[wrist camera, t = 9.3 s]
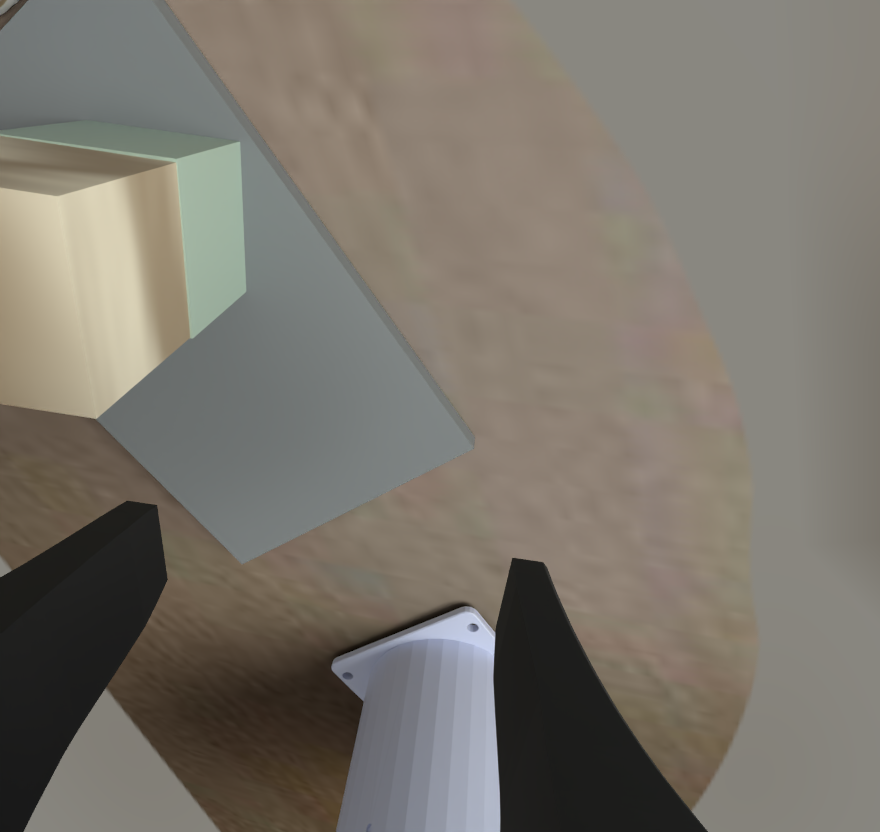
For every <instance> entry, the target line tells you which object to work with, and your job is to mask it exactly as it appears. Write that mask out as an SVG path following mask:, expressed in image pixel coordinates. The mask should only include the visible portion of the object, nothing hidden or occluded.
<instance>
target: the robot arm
mask: <svg viewBox="0 0 880 832" xmlns="http://www.w3.org/2000/svg"><path fill="white" fill-rule="evenodd" d="M167 580H168V579H167V572H166V565H165V558H164V551H163V544H162V537H161V530H160V523H159V516H158V509H157V505H152V504H145V503H139V502H132V501H126V502H124V503H123V504H121V505H119V506H117V507H116V508H114V509H112V510H111V511H109V512H108V513H106V514H104V515H103V516H101V517H99V518H98V519H96V520H95V521H93V522H91V523H90V524H88V525H87V526H85V527H83V528H82V529H80V530H79V531H77V532H76V533H74V534H72V535H71V536H69V537H68V538H66V539H64V540H63V541H61V542H59V543H58V544H56V545H54V546H53V547H51V548H50V549H48V550H46V551H45V552H43V553H41V554H40V555H38V556H36V557H35V558H33V559H32V560H30V561H28V562H27V563H25V564H23V565H22V566H20V567H18V568H16V569H14V570H13V571H11V572H9V573H7V574H6V575H4V576H2V577H0V832H23V831H24V829H25V827H26V825H27V823H28V821H29V819H30V817H31V815H32V813H33V811H34V809H35V807H36V805H37V804H38V801H39V800H40V798H41V796H42V794H43V792H44V790H45V788H46V787H47V785H48V783H49V781H50V779H51V777H52V775H53V773H54V771H55V769H56V767H57V766H58V764H59V762H60V759H61V758H62V756H63V754H64V753H65V751H66V749H67V747H68V746H69V744H70V742H71V741H72V739H73V738H74V736H75V734H76V733H77V731H78V729H79V728H80V726H81V725H82V723H83V721H84V720H85V718H86V717H87V715H88V714H89V712H90V711H91V709H92V708H93V706H94V705H95V703H96V702H97V700H98V698H99V697H100V696H101V694H102V692H103V691H104V689H105V688H106V686H107V685H108V683H109V682H110V680H111V679H112V677H113V676H114V674H115V673H116V671H117V669H118V668H119V666H120V665H121V663H122V662H123V660H124V659H125V657H126V656H127V654H128V652H129V651H130V649H131V648H132V646H133V645H134V643H135V642H136V640H137V638H138V637H139V635H140V634H141V632H142V630H143V629H144V627H145V626H146V624H147V622H148V620H149V618H150V616H151V614H152V612H153V610H154V608H155V606H156V604H157V601H158V599H159V597H160V595H161V593H162V591H163V588H164V586H165V584H166V582H167ZM472 623H473V624H476V625H471V624H472ZM331 668H332V671H333V672H334V673H335V674H336V675H337V676H338V677H339V678H340V679H341V680H342V681H343V682H344V683H345V684H346V685H347V686H348V687H349V688H350V689H351V690H352V691H353V692H354V693H355V694H356V695H357V696H358V697H360V698H361V699H362V700H363V701H364V703H363V708H362V712H361V717H360V722H359V727H358V731H357V736H356V741H355V745H354V750H353V755H352V759H351V764H350V769H349V773H348V778H347V783H346V787H345V792H344V797H343V802H342V806H341V811H340V816H339V820H338V825H337V830H336V832H708V831H707V830H706V829H705V828H704V827H703V825H702V824H701V823H700V821H699V820H698V819H697V818H696V816H695V815H694V814H693V813H692V812H691V810H690V809H689V808H688V807H687V805H686V804H685V803H684V802H683V800H682V799H681V798H680V797H679V795H678V794H677V793H676V792H675V790H674V789H673V788H672V787H671V785H670V784H669V783H668V782H667V780H666V779H665V778H664V776H663V775H662V774H661V772H660V771H659V769H658V768H657V767H656V765H655V764H654V763H653V761H652V760H651V758H650V757H649V756H648V754H647V753H646V752H645V750H644V749H643V747H642V746H641V744H640V743H639V741H638V740H637V738H636V737H635V735H634V734H633V733H632V731H631V730H630V728H629V727H628V725H627V724H626V722H625V720H624V719H623V717H622V716H621V714H620V713H619V711H618V709H617V708H616V706H615V705H614V703H613V701H612V700H611V698H610V696H609V695H608V693H607V691H606V689H605V688H604V686H603V684H602V683H601V681H600V679H599V677H598V676H597V674H596V672H595V670H594V668H593V667H592V665H591V663H590V661H589V659H588V657H587V655H586V653H585V651H584V649H583V648H582V646H581V644H580V642H579V640H578V638H577V636H576V634H575V632H574V630H573V628H572V626H571V624H570V621H569V619H568V617H567V615H566V613H565V610H564V608H563V606H562V604H561V602H560V599H559V597H558V595H557V592H556V590H555V587H554V585H553V582H552V580H551V577H550V574H549V572H548V569H547V567H546V566H545V564H544V563H543V562H537V561H531V560H524V559H517V558H512V562H511V566H510V570H509V575H508V579H507V583H506V587H505V591H504V596H503V600H502V604H501V608H500V612H499V617H498V621H497V625H496V631H495V632H494V631H493V630H492V628H491V627H490V626H489V625H488V623H487V622H486V621H485V620H484V619H483V617H482V616H481V615H480V614H479V613H478V611H477V610H475V609H474V608H472V607H469V606H464V607H461V608H458V609H456V610H453V611H451V612H448V613H446V614H443V615H441V616H438V617H436V618H433V619H431V620H428V621H426V622H423V623H421V624H418V625H416V626H413V627H411V628H408V629H406V630H403V631H401V632H398V633H396V634H393V635H391V636H388V637H386V638H383V639H381V640H378V641H376V642H373V643H371V644H368V645H366V646H363V647H361V648H359V649H356V650H354V651H351V652H349V653H346V654H344V655H341V656H339V657H336V658H335V659H334V660H333V663H332V666H331Z"/></svg>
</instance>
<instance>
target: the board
mask: <svg viewBox="0 0 880 832" xmlns="http://www.w3.org/2000/svg"><path fill="white" fill-rule="evenodd" d="M83 120H90V121H97V122H104V123H111V124H119V125H126V126H133V127H140V128H147V129H154V130H162V131H169V132H176V133H183V134H190V135H198V136H205V137H212V138H219V139H226V140H233V141H240V150H241V175H242V199H243V223H244V248H245V272H246V292H245V293H244V294H243V295H242V296H241V297H240V298H239V299H237V300H236V301H235V302H234V303H233V304H232V305H231V306H229V307H228V308H227V309H226V310H225V311H224V312H223V313H221V314H220V315H219V316H218V317H217V318H216V319H215V320H213V321H212V322H211V323H210V324H209V325H208V326H207V327H206V328H204V329H203V330H202V331H201V332H200V333H199V334H198V335H196V336H195V337H194V338H193V339H192V338H189V339H188V340H187V341H186V342H185V343H183V344H182V345H181V346H180V347H179V348H178V349H177V350H175V351H174V352H173V353H172V354H171V355H170V356H168V357H167V358H166V359H165V360H164V361H163V362H162V363H160V364H159V365H158V366H157V367H156V368H155V369H153V370H152V371H151V372H150V373H149V374H148V375H147V376H145V377H144V378H143V379H142V380H141V381H140V382H138V383H137V384H136V385H135V386H134V387H133V388H132V389H130V390H129V391H128V392H127V393H126V394H125V395H123V396H122V397H121V398H120V399H119V400H118V401H117V402H115V403H114V404H113V405H112V406H111V407H110V408H108V409H107V410H106V411H105V412H104V413H103V414H102V415H100V416H99V417H98V418H97V419H96V420H97V421H98V422H99V423H100V424H101V425H102V426H103V427H104V428H105V429H106V430H107V431H108V432H109V433H110V434H111V435H112V436H113V437H114V438H115V439H116V440H117V441H118V442H119V443H120V444H121V445H122V446H123V447H124V448H125V449H126V450H127V451H128V452H129V453H130V454H131V455H132V456H133V457H134V458H135V459H136V460H137V461H138V462H139V463H140V464H142V465H143V466H144V467H145V468H146V469H147V470H148V471H149V472H150V473H151V474H152V475H153V476H154V477H155V478H156V479H157V480H158V481H159V482H160V483H161V484H162V485H163V486H164V487H165V488H166V489H167V490H168V491H169V492H170V493H171V494H172V495H173V496H174V497H175V498H176V499H177V500H178V501H179V502H180V503H181V504H182V505H183V506H184V507H185V508H186V509H187V510H188V511H189V512H190V513H191V514H192V515H193V516H194V517H195V518H196V519H197V520H198V521H199V522H200V523H201V524H202V525H203V526H204V527H205V528H206V529H207V530H208V531H209V532H210V533H211V534H212V535H213V536H214V537H215V538H216V539H217V540H218V541H219V542H220V543H221V544H222V545H223V546H224V547H225V548H226V549H227V550H228V551H229V552H230V553H231V554H232V555H233V556H234V557H235V558H236V559H237V560H238V561H239V562H240V563H241V564H244V563H246V562H248V561H250V560H252V559H254V558H256V557H258V556H260V555H262V554H264V553H266V552H268V551H270V550H272V549H274V548H276V547H278V546H280V545H282V544H284V543H286V542H288V541H290V540H292V539H294V538H296V537H298V536H300V535H302V534H304V533H306V532H308V531H310V530H312V529H314V528H316V527H318V526H320V525H322V524H324V523H326V522H328V521H330V520H332V519H334V518H336V517H338V516H340V515H342V514H344V513H346V512H348V511H350V510H352V509H354V508H356V507H358V506H360V505H362V504H364V503H366V502H368V501H370V500H372V499H374V498H376V497H378V496H380V495H382V494H384V493H386V492H388V491H390V490H392V489H394V488H396V487H398V486H400V485H402V484H404V483H406V482H408V481H410V480H412V479H414V478H416V477H418V476H420V475H422V474H424V473H426V472H428V471H430V470H432V469H434V468H436V467H438V466H440V465H442V464H444V463H446V462H448V461H450V460H452V459H454V458H456V457H458V456H460V455H462V454H464V453H466V452H468V451H470V450H472V449H474V441H475V437H474V435H473V434H472V432H471V431H470V430H469V428H468V427H467V425H466V424H465V423H464V421H463V420H462V418H461V417H460V416H459V414H458V413H457V411H456V410H455V408H454V407H453V406H452V404H451V403H450V401H449V400H448V399H447V397H446V396H445V394H444V393H443V392H442V390H441V389H440V387H439V386H438V385H437V383H436V382H435V380H434V379H433V378H432V376H431V375H430V373H429V372H428V371H427V369H426V368H425V366H424V365H423V363H422V362H421V361H420V359H419V358H418V356H417V355H416V354H415V352H414V351H413V349H412V348H411V347H410V345H409V344H408V342H407V341H406V340H405V338H404V337H403V335H402V334H401V333H400V331H399V330H398V328H397V327H396V325H395V324H394V323H393V321H392V320H391V318H390V317H389V316H388V314H387V313H386V311H385V310H384V309H383V307H382V306H381V304H380V303H379V302H378V300H377V299H376V297H375V296H374V295H373V293H372V292H371V290H370V289H369V288H368V286H367V285H366V283H365V282H364V280H363V279H362V278H361V276H360V275H359V273H358V272H357V271H356V269H355V268H354V266H353V265H352V264H351V262H350V261H349V259H348V258H347V257H346V255H345V254H344V252H343V251H342V250H341V248H340V247H339V245H338V244H337V243H336V241H335V240H334V238H333V237H332V235H331V234H330V233H329V231H328V230H327V228H326V227H325V226H324V224H323V223H322V221H321V220H320V219H319V217H318V216H317V214H316V213H315V212H314V210H313V209H312V207H311V206H310V205H309V203H308V202H307V200H306V199H305V197H304V196H303V195H302V193H301V192H300V190H299V189H298V188H297V186H296V185H295V183H294V182H293V181H292V179H291V178H290V176H289V175H288V174H287V172H286V171H285V169H284V168H283V167H282V165H281V164H280V162H279V161H278V160H277V158H276V157H275V155H274V154H273V152H272V151H271V150H270V148H269V147H268V145H267V144H266V143H265V141H264V140H263V138H262V137H261V136H260V134H259V133H258V131H257V130H256V129H255V127H254V126H253V124H252V123H251V122H250V120H249V119H248V117H247V116H246V115H245V113H244V112H243V110H242V109H241V107H240V106H239V105H238V103H237V102H236V100H235V99H234V98H233V96H232V95H231V93H230V92H229V91H228V89H227V88H226V86H225V85H224V84H223V82H222V81H221V79H220V78H219V77H218V75H217V74H216V72H215V71H214V69H213V68H212V67H211V65H210V64H209V62H208V61H207V60H206V58H205V57H204V55H203V54H202V53H201V51H200V50H199V48H198V47H197V46H196V44H195V43H194V41H193V40H192V39H191V37H190V36H189V34H188V33H187V32H186V30H185V29H184V27H183V26H182V24H181V23H180V22H179V20H178V19H177V17H176V16H175V15H174V13H173V12H172V10H171V9H170V8H169V6H168V5H167V3H166V2H165V1H164V0H28V1H27V2H26V3H25V4H24V5H23V6H22V8H21V9H20V10H19V11H18V12H17V13H16V14H15V15H14V16H13V17H12V18H11V20H10V21H9V22H8V23H7V24H6V25H5V26H4V27H3V28H2V29H1V30H0V130H8V129H16V128H25V127H33V126H41V125H49V124H58V123H66V122H74V121H83Z"/></svg>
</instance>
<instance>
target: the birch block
mask: <svg viewBox="0 0 880 832" xmlns="http://www.w3.org/2000/svg"><path fill="white" fill-rule="evenodd" d="M189 338H190V328H189V315H188V303H187V290H186V278H185V265H184V253H183V240H182V228H181V216H180V203H179V191H178V178H177V166H176V162H170V161H163V160H157V159H150V158H143V157H137V156H130V155H124V154H117V153H111V152H104V151H97V150H91V149H84V148H78V147H71V146H64V145H58V144H51V143H45V142H38V141H32V140H25V139H18V138H12V137H5V136H0V404H4V405H10V406H17V407H23V408H30V409H36V410H43V411H49V412H55V413H62V414H68V415H75V416H81V417H88V418H94V419H97V418H98V417H99V416H100V415H102V414H103V413H104V412H105V411H106V410H107V409H108V408H110V407H111V406H112V405H113V404H114V403H115V402H117V401H118V400H119V399H120V398H121V397H122V396H123V395H125V394H126V393H127V392H128V391H129V390H130V389H132V388H133V387H134V386H135V385H136V384H137V383H138V382H140V381H141V380H142V379H143V378H144V377H145V376H147V375H148V374H149V373H150V372H151V371H152V370H153V369H155V368H156V367H157V366H158V365H159V364H160V363H162V362H163V361H164V360H165V359H166V358H167V357H168V356H170V355H171V354H172V353H173V352H174V351H175V350H177V349H178V348H179V347H180V346H181V345H182V344H183V343H185V342H186V341H187V340H188V339H189Z"/></svg>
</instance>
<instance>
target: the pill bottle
mask: <svg viewBox="0 0 880 832" xmlns="http://www.w3.org/2000/svg"><path fill="white" fill-rule="evenodd" d="M18 1H19V0H0V15H2V14H3V13H5V12H6V11H8V10H9V9H10V8H11V7H12V6H13V5H14V4H16V3H17V2H18Z"/></svg>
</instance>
